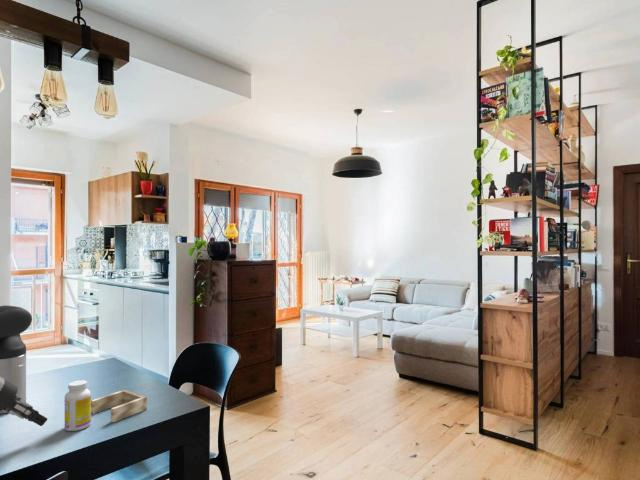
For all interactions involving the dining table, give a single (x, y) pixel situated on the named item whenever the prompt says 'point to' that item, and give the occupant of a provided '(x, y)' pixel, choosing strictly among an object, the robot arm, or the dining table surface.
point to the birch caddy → (129, 406)
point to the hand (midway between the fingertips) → (43, 422)
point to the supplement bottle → (77, 406)
